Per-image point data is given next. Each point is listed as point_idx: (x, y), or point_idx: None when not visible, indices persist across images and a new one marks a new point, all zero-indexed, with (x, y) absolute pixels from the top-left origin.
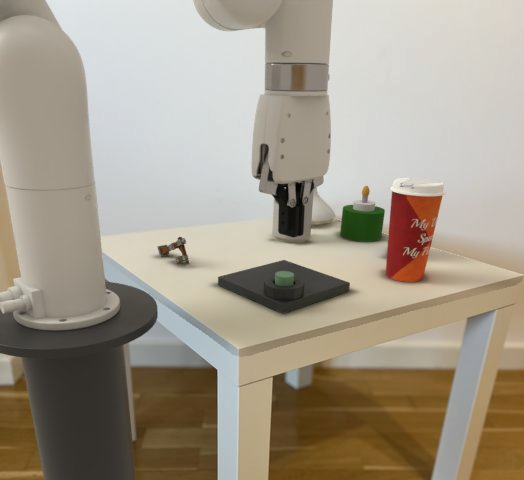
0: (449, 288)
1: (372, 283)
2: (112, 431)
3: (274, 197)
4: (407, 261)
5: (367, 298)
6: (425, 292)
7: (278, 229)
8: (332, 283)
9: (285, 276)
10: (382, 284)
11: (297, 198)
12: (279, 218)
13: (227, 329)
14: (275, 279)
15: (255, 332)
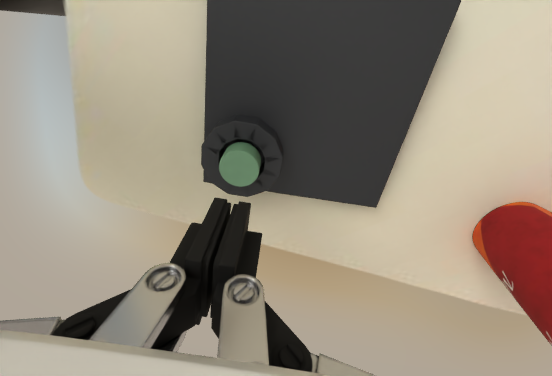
0: (470, 288)
1: (436, 208)
2: (40, 13)
3: (110, 302)
4: (494, 268)
5: (357, 230)
6: (434, 273)
7: (212, 202)
8: (351, 189)
9: (227, 179)
10: (440, 221)
11: (217, 329)
12: (183, 240)
13: (96, 147)
14: (223, 154)
15: (127, 182)
